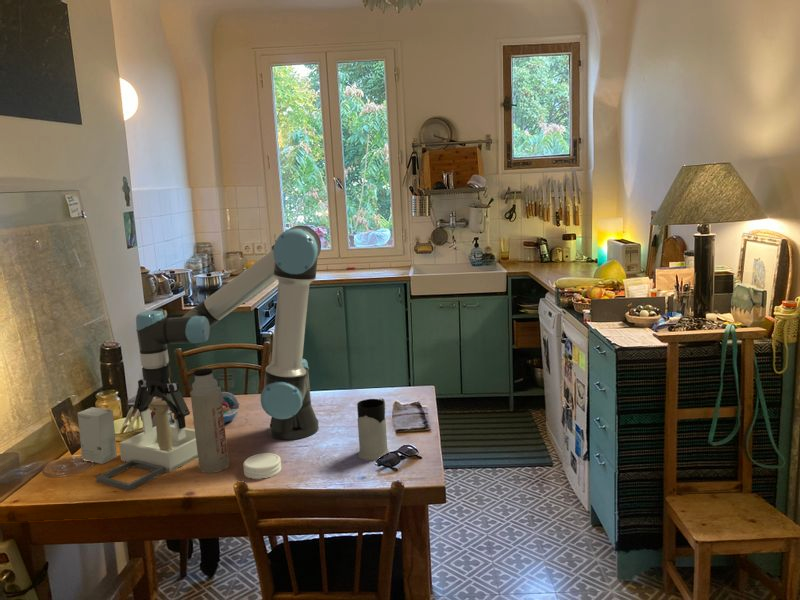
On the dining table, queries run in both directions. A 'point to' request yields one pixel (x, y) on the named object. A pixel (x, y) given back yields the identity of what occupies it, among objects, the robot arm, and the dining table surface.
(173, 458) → the parts bin
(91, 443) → the skincare box
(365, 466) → the dining table surface
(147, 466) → the rectangular frame
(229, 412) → the cell model
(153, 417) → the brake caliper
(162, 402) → the handle
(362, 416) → the white and black cylinder
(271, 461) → the coaster
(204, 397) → the thermos bottle
